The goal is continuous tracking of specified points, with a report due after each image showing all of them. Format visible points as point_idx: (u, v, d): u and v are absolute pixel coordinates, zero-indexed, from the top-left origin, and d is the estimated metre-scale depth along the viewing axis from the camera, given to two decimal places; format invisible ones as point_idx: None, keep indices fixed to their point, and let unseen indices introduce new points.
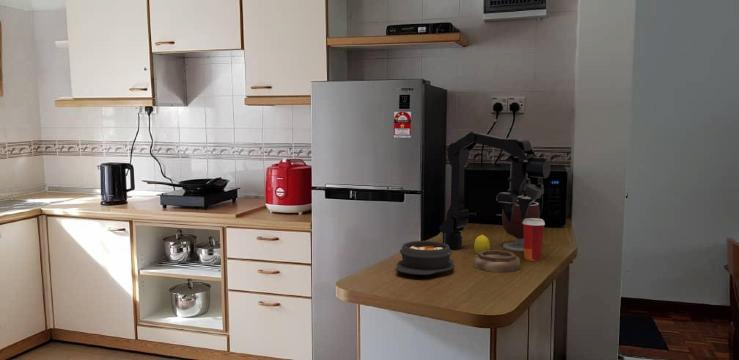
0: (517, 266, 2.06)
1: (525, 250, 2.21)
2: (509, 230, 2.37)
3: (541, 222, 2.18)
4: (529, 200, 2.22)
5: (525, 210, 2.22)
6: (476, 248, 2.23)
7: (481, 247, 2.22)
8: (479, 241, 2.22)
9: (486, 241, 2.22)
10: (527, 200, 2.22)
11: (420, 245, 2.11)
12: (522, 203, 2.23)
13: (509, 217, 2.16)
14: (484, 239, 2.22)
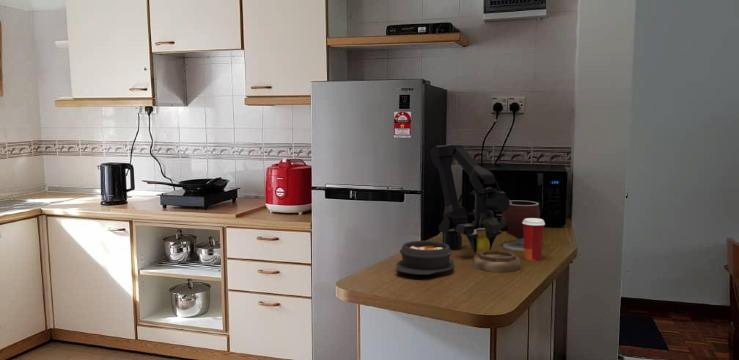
0: (517, 266, 2.06)
1: (525, 250, 2.21)
2: (509, 230, 2.37)
3: (541, 222, 2.18)
4: (493, 233, 2.24)
5: None
6: None
7: (481, 247, 2.22)
8: (479, 241, 2.22)
9: (486, 241, 2.22)
10: (491, 233, 2.25)
11: (420, 245, 2.11)
12: (488, 236, 2.26)
13: (473, 248, 2.23)
14: (484, 239, 2.22)
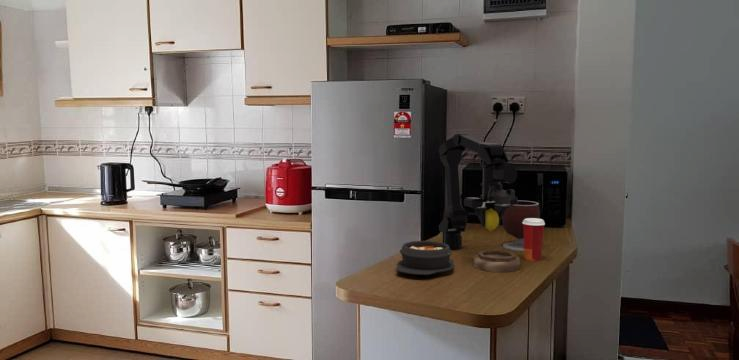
0: (517, 266, 2.06)
1: (525, 250, 2.21)
2: (509, 230, 2.37)
3: (541, 222, 2.18)
4: (502, 207, 2.16)
5: None
6: (485, 222, 2.15)
7: (490, 220, 2.14)
8: (487, 215, 2.14)
9: (495, 215, 2.14)
10: (500, 207, 2.17)
11: (420, 245, 2.11)
12: (497, 210, 2.18)
13: (482, 222, 2.15)
14: (493, 213, 2.14)
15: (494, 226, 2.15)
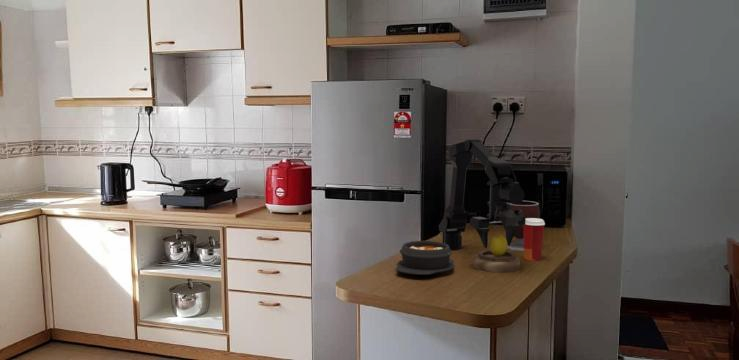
0: (517, 266, 2.06)
1: (525, 250, 2.21)
2: None
3: (541, 222, 2.18)
4: (513, 226, 2.10)
5: (509, 237, 2.11)
6: (493, 248, 2.08)
7: (498, 247, 2.07)
8: (496, 242, 2.08)
9: (504, 242, 2.08)
10: (512, 226, 2.11)
11: (420, 245, 2.11)
12: (508, 229, 2.13)
13: (484, 243, 2.08)
14: (502, 240, 2.08)
15: (501, 253, 2.08)
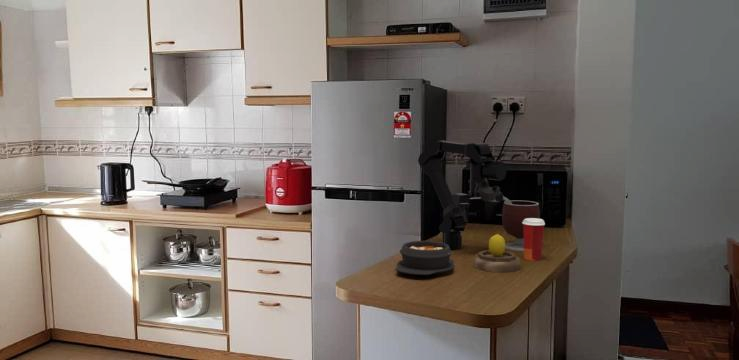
0: (517, 266, 2.06)
1: (525, 250, 2.21)
2: (509, 230, 2.37)
3: (541, 222, 2.18)
4: (492, 202, 2.28)
5: (489, 212, 2.30)
6: (491, 248, 2.09)
7: (496, 247, 2.08)
8: (494, 241, 2.08)
9: (502, 241, 2.08)
10: (490, 202, 2.29)
11: (420, 245, 2.11)
12: (487, 205, 2.31)
13: (465, 217, 2.26)
14: (499, 239, 2.08)
15: (500, 252, 2.09)
